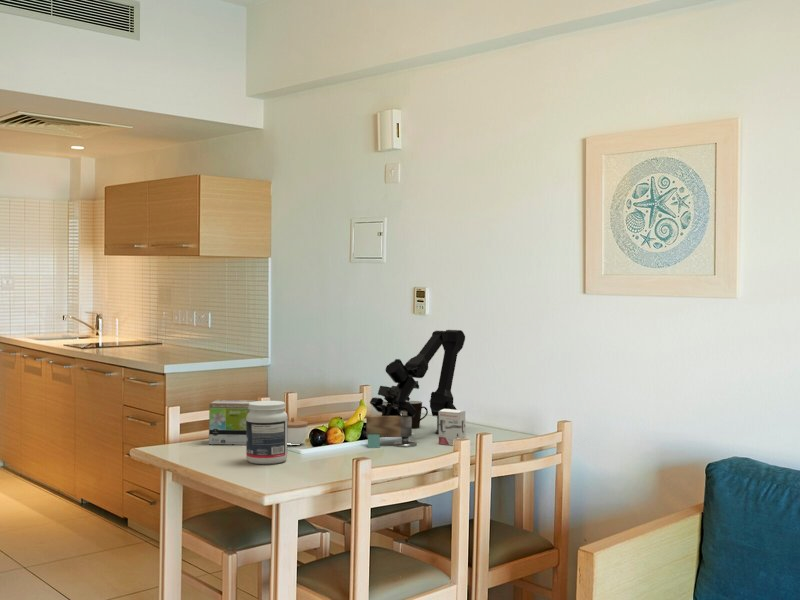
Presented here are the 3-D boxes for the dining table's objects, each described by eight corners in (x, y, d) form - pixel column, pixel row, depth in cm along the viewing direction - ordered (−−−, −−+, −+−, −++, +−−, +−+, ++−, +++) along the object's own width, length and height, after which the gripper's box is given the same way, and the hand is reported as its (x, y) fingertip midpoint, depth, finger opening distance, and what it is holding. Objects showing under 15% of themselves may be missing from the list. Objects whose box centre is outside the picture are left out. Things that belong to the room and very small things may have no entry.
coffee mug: (396, 426, 342) (396, 401, 342) (416, 425, 345) (416, 400, 345) (409, 431, 331) (409, 404, 331) (429, 429, 335) (429, 403, 335)
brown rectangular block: (411, 435, 303) (411, 415, 303) (412, 437, 298) (412, 417, 298) (366, 435, 302) (366, 415, 302) (366, 437, 298) (366, 417, 298)
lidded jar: (305, 441, 307) (305, 415, 307) (310, 446, 297) (310, 419, 297) (275, 442, 305) (275, 416, 304) (279, 448, 294) (279, 420, 294)
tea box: (208, 445, 299) (208, 402, 299) (213, 440, 309) (213, 399, 309) (252, 445, 300) (252, 402, 300) (256, 440, 310) (256, 399, 310)
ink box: (437, 444, 302) (437, 410, 302) (443, 442, 307) (443, 408, 307) (460, 446, 298) (460, 411, 298) (466, 444, 303) (466, 410, 303)
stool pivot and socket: (371, 442, 306) (371, 429, 306) (417, 443, 304) (417, 430, 304) (366, 447, 295) (366, 434, 295) (415, 448, 293) (415, 435, 293)
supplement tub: (252, 457, 278) (252, 399, 278) (291, 457, 277) (291, 400, 277) (240, 464, 265) (240, 405, 265) (282, 465, 264) (282, 405, 264)
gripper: (372, 375, 312) (350, 409, 305) (409, 379, 298) (386, 415, 291) (389, 393, 317) (367, 428, 310) (425, 398, 304) (404, 434, 297)
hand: (380, 426), depth 302 cm, fingers closed
